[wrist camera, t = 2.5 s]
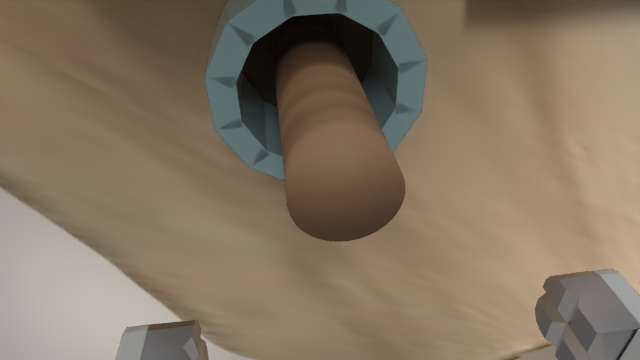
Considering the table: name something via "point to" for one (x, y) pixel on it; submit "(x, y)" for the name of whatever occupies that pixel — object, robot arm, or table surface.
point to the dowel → (330, 138)
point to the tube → (262, 117)
